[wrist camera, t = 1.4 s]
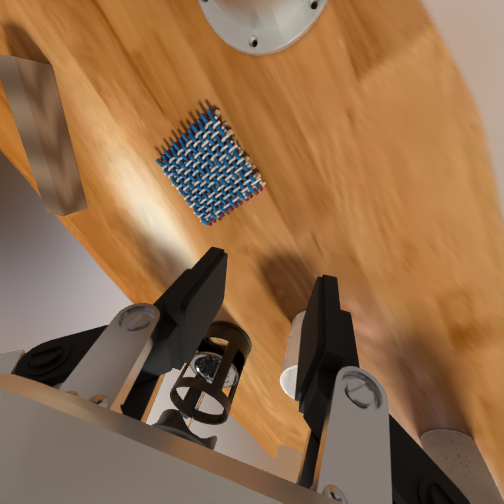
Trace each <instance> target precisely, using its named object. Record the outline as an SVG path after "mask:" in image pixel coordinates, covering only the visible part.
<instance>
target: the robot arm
mask: <svg viewBox="0 0 504 504" xmlns="http://www.w3.org/2000/svg"><path fill="white" fill-rule="evenodd" d="M198 2H199V5H200V8H201V10H202V12H203V14H204V16H205V18H206V20H207V21H208V23H209V24H210V26H211V27H212V28H213V30H214V31H215V33H216V34H217V35H218V36H219V37H220V38H221V39H222V40H223V41H224V42H226V43H227V44H228V45H230V46H231V47H232V48H234V49H236V50H238V51H240V52H242V53H245V54H249V55H255V56H263V55H271V54H274V53H277V52H280V51H283V50H284V49H286V48H288V47H289V46H291V45H293V44H294V43H296V42H297V41H298V40H299V39H300V38H301V37H302V36H304V35H305V34H306V33H307V32H308V31H309V29H310V28H311V27H312V26H313V25H314V23H315V22H316V21H317V20H318V18H319V17H320V15H321V13H322V12H323V10H324V8H325V7H326V5H327V3H328V2H329V0H208V2H207V0H198ZM314 3H316V4H317V5H318V6H317V8H316V9H314V10H313V9H312V8H311V6H312V5H313V4H314ZM255 41H257V43H258V44H257V46H256V47H253V43H254V42H255ZM227 257H228V255H227V253H224V249H220V248H216V247H211V248H210V249H209V250H208V251H207V252H206V254H205V255H204V256H203V257H202V258H201V259H200V260H199V261H198V262H197V263H196V264H195V266H194V267H193V268H192V269H187V270H185V271H184V272H183V273H182V275H181V276H180V277H179V278H178V279H177V280H176V281H175V282H174V283H173V284H172V285H171V286H170V287H169V288H168V289H167V290H166V291H165V293H164V294H163V295H162V296H161V297H160V298H159V299H158V300H157V301H156V302H155V303H154V304H153V305H152V304H148V303H138V304H133V305H130V306H128V307H126V308H124V309H123V310H121V311H120V312H119V313H118V314H117V315H116V316H115V317H114V319H113V320H112V321H111V323H110V324H109V325H105V326H102V327H98V328H94V329H91V330H87V331H83V332H80V333H76V334H72V335H68V336H65V337H61V338H57V339H54V340H50V341H48V342H45V343H42V344H40V345H38V346H36V347H35V348H32V349H31V350H30V351H29V352H27V353H25V351H24V350H20V351H14V352H8V353H1V354H0V504H470V502H469V500H468V499H467V498H466V497H465V495H464V494H463V493H462V492H461V491H460V489H459V488H458V487H457V486H456V485H455V484H454V483H453V482H452V481H451V479H450V478H449V477H448V476H447V475H446V474H445V473H444V472H443V471H442V470H441V469H440V468H439V467H438V465H437V464H436V463H435V462H434V461H433V460H432V459H431V458H430V457H429V456H428V455H427V454H426V453H425V451H424V450H423V449H422V448H421V447H420V446H419V445H418V444H417V443H416V442H415V441H414V440H413V439H412V437H411V436H410V435H409V434H408V433H407V432H406V431H405V430H404V429H403V428H402V427H401V426H400V425H399V423H398V422H397V421H396V420H395V419H394V418H393V417H392V416H391V415H390V414H389V409H388V399H387V395H386V393H385V390H384V388H383V387H382V385H381V384H380V383H379V382H378V380H377V379H376V378H375V377H373V376H372V375H371V374H370V373H368V372H367V371H365V370H363V369H361V368H360V367H359V361H358V355H357V348H356V342H355V336H354V330H353V324H352V318H351V314H350V312H347V311H343V310H340V301H339V292H338V282H337V278H336V277H332V276H328V275H323V276H322V277H319V276H318V277H317V280H316V283H315V286H314V289H313V292H312V295H311V297H310V300H309V303H308V306H307V309H306V312H305V315H304V318H303V322H302V327H301V337H300V347H299V357H298V368H297V378H296V389H295V400H296V401H299V412H301V413H304V416H303V418H304V419H305V421H306V422H307V424H308V425H309V431H308V435H307V440H306V444H305V448H304V452H303V457H302V461H301V465H300V470H299V474H298V478H297V482H296V484H295V483H293V482H290V481H288V480H285V479H283V478H280V477H278V476H275V475H273V474H270V473H268V472H266V471H263V470H261V469H258V468H256V467H253V466H251V465H248V464H246V463H243V462H241V461H238V460H236V459H233V458H231V457H228V456H226V455H223V454H221V453H218V452H216V451H213V450H211V449H208V448H206V447H203V446H201V445H198V444H196V443H193V442H191V441H188V440H186V439H183V438H181V437H178V436H176V435H173V434H171V433H168V432H166V431H163V430H161V429H158V428H156V427H153V426H151V425H148V424H146V421H147V418H148V416H149V413H150V411H151V408H152V406H153V403H154V401H155V398H156V396H157V393H158V391H159V388H160V386H161V383H162V381H163V379H164V376H165V373H167V372H169V371H171V370H172V368H175V369H178V370H181V368H182V367H183V365H184V363H189V362H190V361H191V359H192V357H193V355H194V353H195V352H196V350H197V348H198V346H199V345H200V343H201V341H202V339H203V337H204V336H205V334H206V332H207V330H208V328H209V327H210V325H211V323H212V321H213V319H214V318H215V316H216V314H217V312H218V310H219V309H220V307H221V305H222V303H223V300H224V292H225V280H226V269H227Z"/></svg>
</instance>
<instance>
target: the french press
mask: <svg viewBox="0 0 504 504" xmlns="http://www.w3.org/2000/svg"><path fill="white" fill-rule="evenodd" d="M210 337H217V338H221V339H225V340H227V341H229V343H228V346H227V348H226V350H225V353H224V352H222V351H220V350H218V349H217V348H216V347H215V346H214V345H213V344H212V343H211V341H210ZM237 348H238V349H239V350H240V351H241V352H240V353H238V354H236V351H237ZM197 350H198V352H197ZM197 350H196V352H197V353H196V352H195V353H196V354H195V353H194V355H193V357H192V359H191V361H190V362H189V363H186V365H185V367H184V369H183V371H182V372H181V374H180V376H179V378H178V379H177V381H176V383H175V385H174V386H173V388H172V390H171V392H170V398H171V401H172V402H173V404H174V405H175V406H176V407H177V409H179V410H178V411H177V410H175V409H168V410H166V411H164V412H163V413H162V414H161V416H160V418H159V420H158V421H157V423H155V424H153V425H152V426H153V427H156V428H158V429H161V430H163V431H166V432H168V433H171V434H173V435H176V436H178V437H181V438H183V439H186V440H188V441H191V442H193V443H196V444H198V445H201V446H203V447H206V448H208V449H211V450H214V447H215V444H216V441H217V437H216V436H212V437H209V438H207V439H204V438H199V437H198V436H197V435H195V434H193V433H192V432H191V431H190V430H189V429H190V427H191V425H192V423H193V420H196V421H198V422H201V423H205V424H211V425H218V424H222V423H224V422H225V421H226V420H227V418H228V415H229V412H230V409H231V404H232V401H233V398H234V394H235V391H236V388H237V385H238V382H239V379H240V376H241V373H242V370H243V367H244V365H245V362H246V359H247V356H248V354H249V353H250V351H251V341H250V338H249V337H248V335H247V334H246V333H245V332H244V331H243V330H242V329H241V328H239V327H238V326H236V325H234V324H231V323H228V322H223V321H217V322H212V323H211V325H210V327H209V328H208V330H207V332H206V334H205V336H204V337H203V339H202V341H201V343H200V345H199V346H198V348H197ZM189 364H190V365H191V368H192V370H193V372H194V373H195V374H196V376H195V378H193V377H184V378H182V377H183V375H184V373H185V371H186V370H187V368H188V366H189ZM231 386H232V387H231ZM178 387H190V388H189V390H188V392H187V394H186V396H185V398H184V400H182V399H181V397H180V396H179V395H178V393H177V391H176V388H178ZM225 387H231V390H230V393H229V396H228V397H227V396H226V395H225V394H224V393H223V392H222V388H225ZM202 391H203V394H202V396H201V398H200V400H199V403H198V405H197V407H196V409H195V406H196V404H197V402H198V399H199V397H200V395H201V393H202ZM205 393H207V394H209V395H210V396H212V397H214V398H215V399H216V400H217V401H218V402H219V403H220V404H221V405H222V406H223V407H224V411H223V413H222V414H220V415H212V414H207V413H204V412H201V411H198V408H199V406H200V404H201V402H202V399H203V397H204V395H205ZM183 417H184V418H186V419H187V418H188V417H190V418H191V421H190V423H189V425H188V427H187V425H186V424H185V421H184V419H183Z"/></svg>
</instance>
